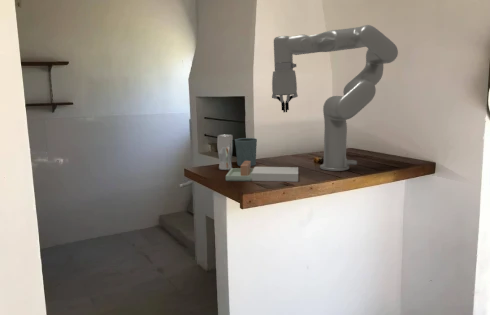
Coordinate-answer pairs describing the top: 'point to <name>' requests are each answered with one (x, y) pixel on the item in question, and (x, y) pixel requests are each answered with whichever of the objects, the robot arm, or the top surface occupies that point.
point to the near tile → (245, 169)
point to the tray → (237, 175)
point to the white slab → (275, 174)
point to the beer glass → (225, 151)
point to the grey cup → (246, 150)
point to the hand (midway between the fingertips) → (285, 112)
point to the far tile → (249, 165)
